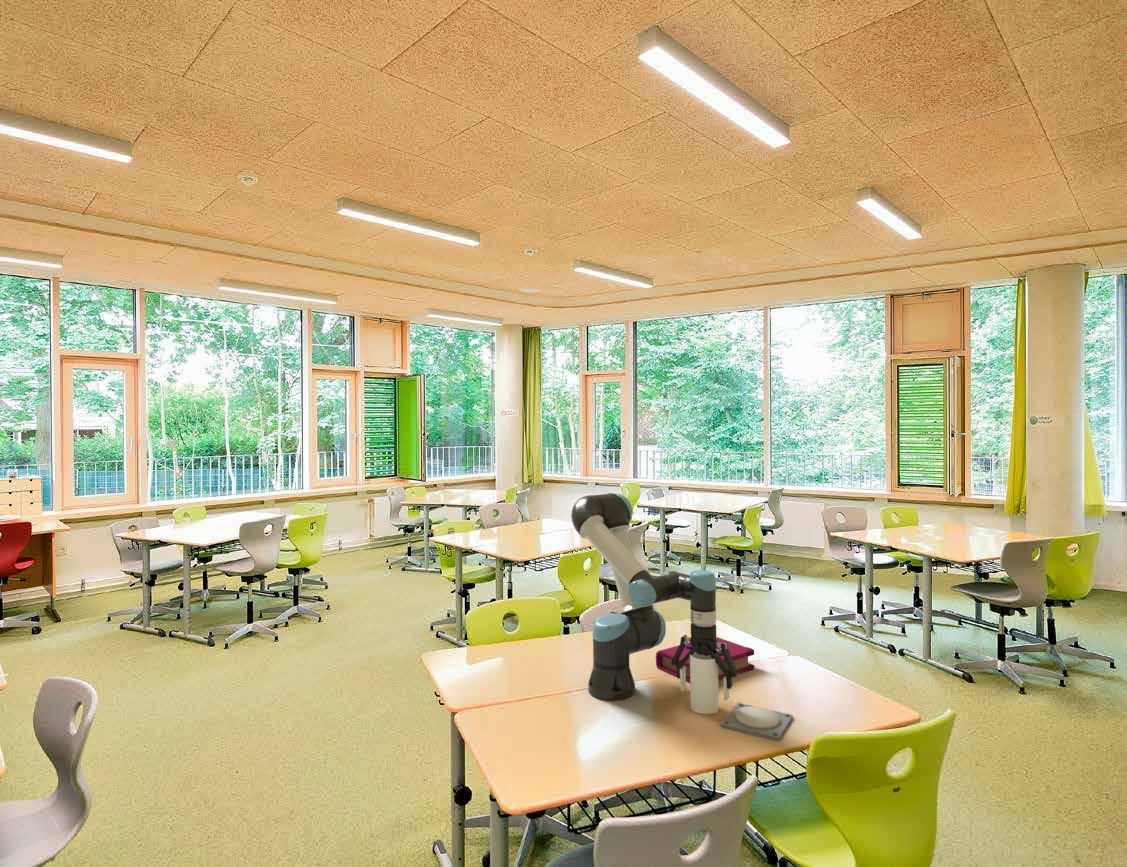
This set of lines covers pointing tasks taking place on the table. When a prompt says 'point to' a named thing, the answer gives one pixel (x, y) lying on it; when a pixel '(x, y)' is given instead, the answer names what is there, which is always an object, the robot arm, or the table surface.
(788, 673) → the table surface
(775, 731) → the flange board
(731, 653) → the book
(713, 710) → the cup
